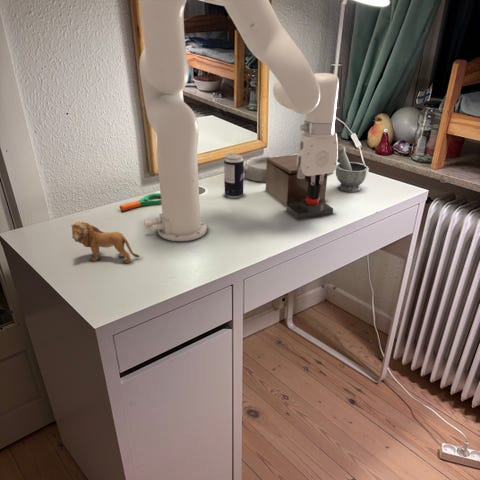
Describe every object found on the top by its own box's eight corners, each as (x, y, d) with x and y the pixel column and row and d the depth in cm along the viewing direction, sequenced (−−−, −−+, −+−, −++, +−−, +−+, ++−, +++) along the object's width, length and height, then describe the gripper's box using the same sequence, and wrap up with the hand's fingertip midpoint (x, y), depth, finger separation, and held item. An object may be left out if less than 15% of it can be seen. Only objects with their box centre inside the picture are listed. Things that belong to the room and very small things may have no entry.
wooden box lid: (329, 168, 138) (331, 148, 135) (290, 173, 134) (290, 153, 131) (303, 156, 150) (304, 137, 147) (266, 160, 146) (266, 142, 143)
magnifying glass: (159, 195, 148) (159, 190, 147) (171, 201, 144) (171, 195, 143) (115, 208, 139) (115, 202, 138) (127, 214, 136) (126, 208, 135)
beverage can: (243, 199, 146) (243, 158, 139) (224, 199, 146) (223, 158, 139) (243, 192, 150) (243, 153, 143) (225, 192, 150) (224, 152, 143)
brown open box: (324, 201, 144) (328, 170, 139) (286, 207, 140) (288, 175, 135) (301, 185, 155) (303, 156, 150) (265, 190, 151) (266, 160, 146)
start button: (309, 206, 133) (310, 200, 132) (303, 202, 136) (303, 196, 135) (321, 204, 134) (321, 198, 133) (314, 200, 137) (315, 194, 136)
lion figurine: (74, 263, 112) (66, 227, 107) (80, 252, 116) (73, 217, 111) (137, 263, 112) (133, 227, 107) (141, 253, 116) (137, 217, 111)
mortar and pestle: (371, 188, 153) (377, 149, 147) (354, 196, 148) (360, 156, 141) (341, 180, 160) (345, 142, 153) (324, 187, 154) (328, 148, 147)
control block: (299, 221, 132) (300, 208, 130) (286, 210, 138) (287, 198, 136) (334, 215, 136) (335, 203, 134) (320, 205, 142) (321, 193, 140)
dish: (290, 173, 166) (291, 158, 163) (277, 185, 155) (278, 170, 152) (251, 167, 170) (251, 153, 167) (236, 180, 160) (236, 164, 157)
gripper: (300, 134, 118) (295, 206, 129) (352, 128, 123) (344, 198, 133) (286, 127, 124) (282, 196, 135) (336, 121, 129) (329, 189, 139)
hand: (313, 197), depth 134 cm, fingers closed
